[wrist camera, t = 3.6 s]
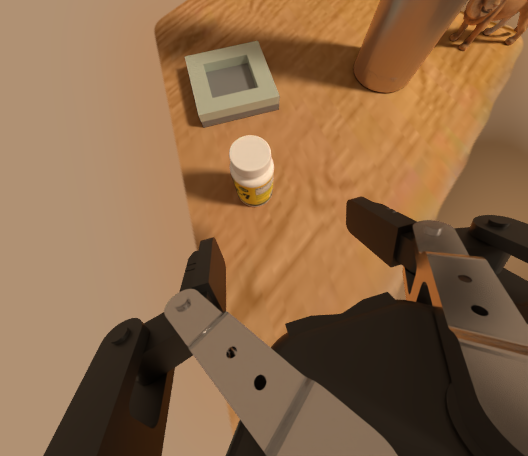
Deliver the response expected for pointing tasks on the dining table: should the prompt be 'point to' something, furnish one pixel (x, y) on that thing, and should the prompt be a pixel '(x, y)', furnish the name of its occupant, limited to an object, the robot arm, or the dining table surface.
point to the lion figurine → (492, 18)
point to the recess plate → (231, 83)
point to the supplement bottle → (252, 170)
